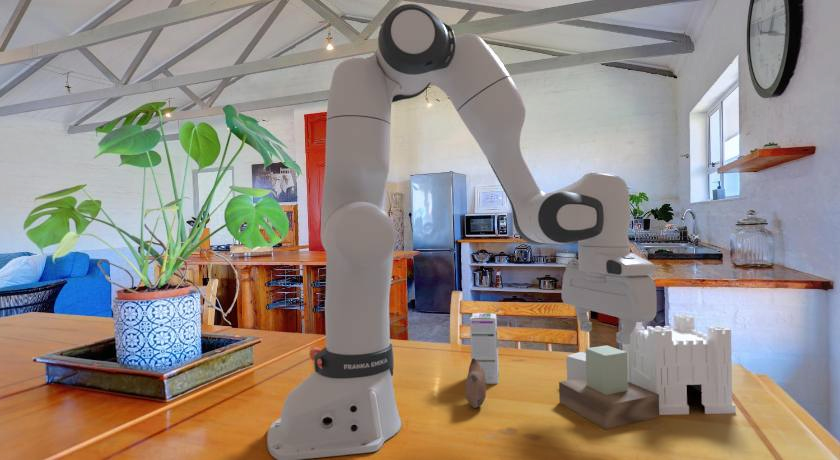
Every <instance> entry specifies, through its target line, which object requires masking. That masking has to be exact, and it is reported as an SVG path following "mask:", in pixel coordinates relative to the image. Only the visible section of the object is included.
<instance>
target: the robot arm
mask: <svg viewBox="0 0 840 460" xmlns="http://www.w3.org/2000/svg"><path fill="white" fill-rule="evenodd" d="M450 33H451V35H450ZM377 37H378V38H377V48H376V51H375V53H373V55H371V56H368V57H365V58H363V57H352V58H348V59H345V60H342V62H340V63H339V64H338V65H337V66H336V67H335V69H334V71H333V75H332V79H331V83H330V87H329V93H328V99H327V100H328V101H327V108H326V128H325V129H326V130H325V131H326V133H325V161H324V162H325V163H324V178H323V190H322V191H323V192H322V205H321V220H320V242H321V245H322V247H323V249H324V251H325V254H326V255H325V257H326V258H325V259H326V261H325V262H326V263H325V273H326V274H325V295H324V296H325V297H324V299H325V300H324V316H325V317H324V319H325V320H324V321H325V322H324V323H325V346H324V348H322V349H320V348H319V347H318V346H313V347H312V348H310V350H309V356H310V357H309V358H310V359H311V360H312V361H313V365H314V368H313V369H314V371H313V372H312V373H311V374H309V376H307V377H306V378H304V380H302V382H301V383H299V384H298V385H297V386H296V387H294V388H293V389H292V390H291V391H290V392H289V393H288V394H287V395H286V398H285V400H284V402H283V405H282V410H281V414H280V418H278V419H276V420H275V421H273V422H272V424H271V425H270V427H269V429H268V431H267V439H266V444H267V450H268V453H269V454H270V455H271V456H272V457H273V458H274V459H276V460H307V459H315V458H316V459H318V458H326V457H338V456H346V455H355V454H356V455H357V454H366V453H367V454H368V453H373V452H377V451H378V450H380V449H381V447H383V444H384V442H386V441H388V440H389V439H390V438H392V437H393V436H395V435H396V434H397V433H398V432H399V431H400V429H401V427H402V420H401V417H400V414H399V410H398V407H397V402H396V396H395V391H394V385H393V384H394V383H393V375H394V367H395V365H394V361H395V360H394V350H393V344H392V343H391V339H390V337H391V335H390V333H391V332H390V330H391V329H390V293H391V292H390V291H391V283H392V275H393V268H394V267H393V266H394V251H395V246H396V243H397V230H396V226H395V225H394V222H393V220H392V218H391V217H390V215H389V214H388V213H387V212H386V211H385V210H384V209H383V205H384V197H385V190H386V184H387V180H388V175H389V171H390V156H391V155H390V154H391V151H390V149H391V117H392V111H391V110H392V105H393V103H395V102H399V101H402V100H409V99H413V98H417V97H418V96H420V95H422V93H424V92H425V91H426V90H427V89H428V88H429V87H430V85H432V86H435V87H437V88H438V89H440V90H442V91H443V92H444V93H445V95H447V97H449V99H450V101H451V103H452V105H453V107H454V109H455V111H456V112H457V114H458V115H459V117H460V119H461V120H462V122H463V123H464V125H465V126H466V129H467V130H468V132H470V135H472V137H473V139H474V140H475V142H476V143H477V144H478V146H479V148H480V149H481V151H482V153H483V154H484V156H485V157H486V159H487V162H488V164H489V165H490V167H491V169H492V171H493V173H494V175H495V177H496V178H497V181H498V182H499V185H500V186H501V188H502V190H503V192H504V193H505V196H506V197H507V199H508V201H509V204H510V206H511V213H512V218H513V224H514V228H515V230H516V232H517V234H518V236H519V237H520V238H521V239H522V240H524V241H525V242H527V243H528V244H532V245H537V246H539V245H542V246H543V245H566V244H567V245H568V244H571V243H574V242H575V243H576V242H577V243H578V247H577V251H578V255H577V258H578V259H576V258H572V259H570V260H569V261H568V262H567V263H566V265H565V271H564V273H563V276H562V285H561V300H562V302H563V303H564V305H569V306H572V307H574V311H575V312H574V313H575V315H576V318H577V319H578V322H579V323H578V324H579V325H578V326H579V328H578V329H579V330H580V331H581V332H585V333H588V332H589V333H590V332H592V330H593V328H592V327H593V322H592V321H590V319H589V317H588V313H589V311H592V312H596V313H600V314H603V315H608V316H612V317H616V318H618V319H620V325H621V329H620V331H618V332H615V337H616V338H615V341H616V342H617V343H619V344H621V345H622V344H629V343H630V334H631V333H632V331H633V330H634V328H635V326H636V322H642V323H646V322H652V321H653V320H654V319H655V317H656V316H657V309H658V307H657V306H658V305H657V304H658V303H657V302H658V301H657V300H658V299H657V286H656V283H655V281H654V280H653V278H652V277H651V276H653V275H654V274H655V272H656V266H655V264H654V263H653V262H651V261H650V260H647V259H645V258H643V257H640V255H637V254H635V253H634V252H631V243H630V239H629V228H630V225H631V202H630V201H631V200H630V192H629V188H628V185H627V183H626V181H625V180H624V179H623V178H622V177H621V176H619V175H615V174H612V173H605V172H602V173H601V172H590V173H587V174H584V175H582V176H581V178H580V179H578V180H577V181H575V182H573V183H571V184H570V185H568V186H565V187H562V188H560V189H558V190H555V191H552V192H548V193H546V192H545V191H543V190H541V189H540V187H539V185H538V184H537V182H536V180H535V179H534V176H533V175H532V172H531V170H530V168H529V167H528V164H527V163H526V161H525V159H524V157H523V155H522V151H521V143H520V142H521V134H522V133H521V132H522V129H523V127H524V124H525V119H526V110H527V109H526V108H525V103H524V99H523V98H522V96H521V95H522V94H521V93H520V90H519V89H518V87H517V85H516V83H515V81H514V80H513V78H512V76H511V75H510V73H509V72H508V70H507V68H506V67H505V66H504V64H503V63H502V62H501V60H500V58H499V57H498V56H497V54H495V52H494V51H493V49H491V47H490V46H489V45H488V44H487V43H486V42H485V41H484V39H482V38H481V37H480V36H479V35H477V34H474V33H468V32H466V33H463V34H459V35H456V36H455V33H454V30H453V29H452V28H451V26H450V25H448V24H446V23H445V22H442V20H441V19H440V18H439V17H438V16H437V15H436V14H434V13H433V12H432V11H431V10H429V9H427V8H426V7H424V6H421V5H418V4H413V3H408V4H402V5H399V6H396V8H394V9H393V10H392V11H390V13H389V14H387V16H386V17H385V19H384V20H383V21H382V24H381V26H380V29H379V32H378V36H377ZM622 325H623V327H622Z"/></svg>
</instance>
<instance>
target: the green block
mask: <svg viewBox="0 0 840 460" xmlns="http://www.w3.org/2000/svg"><path fill="white" fill-rule="evenodd" d="M585 353H586V385H587V386H589V387H591V388H593V389H595V390H597V391H599V392H601V393H603V394H605V395H608V394H613V393H618V392H623V391H628V368H627V352H625V351H622V350H621V349H618V348H616V347H613V346H610V345H608V344H607V345H600V346H593V347H587V348H585Z"/></svg>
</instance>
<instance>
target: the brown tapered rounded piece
mask: <svg viewBox="0 0 840 460" xmlns="http://www.w3.org/2000/svg"><path fill="white" fill-rule="evenodd" d="M464 389H465V393H464V394H465V398H466V400H467V403H468V404H469V406H471V407H472V408H474V409H475V408H479V407H480V406H482V405H483V403H484V402H485V400H486V397H487V396H486V395H487V384H486V380H485V374H484V370H483V367H482V366H481V365H480V363H479V362H478V361H477V360H476V359H474V358H473V359H472V361H471V360H470V364H469V367H468V373H467V376H466V380H465V387H464Z"/></svg>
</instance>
